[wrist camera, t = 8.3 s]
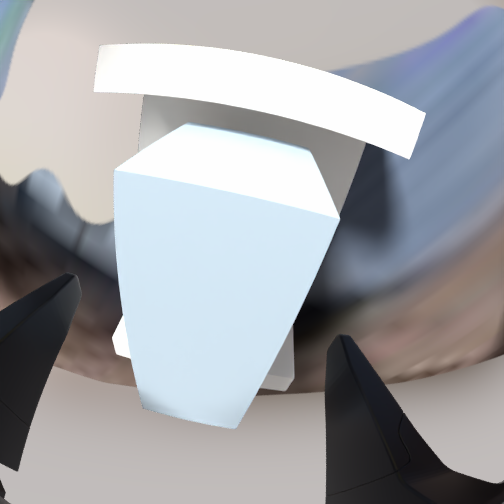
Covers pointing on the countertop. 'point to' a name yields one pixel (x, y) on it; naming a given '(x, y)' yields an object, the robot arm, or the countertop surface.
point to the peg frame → (258, 118)
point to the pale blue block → (215, 263)
